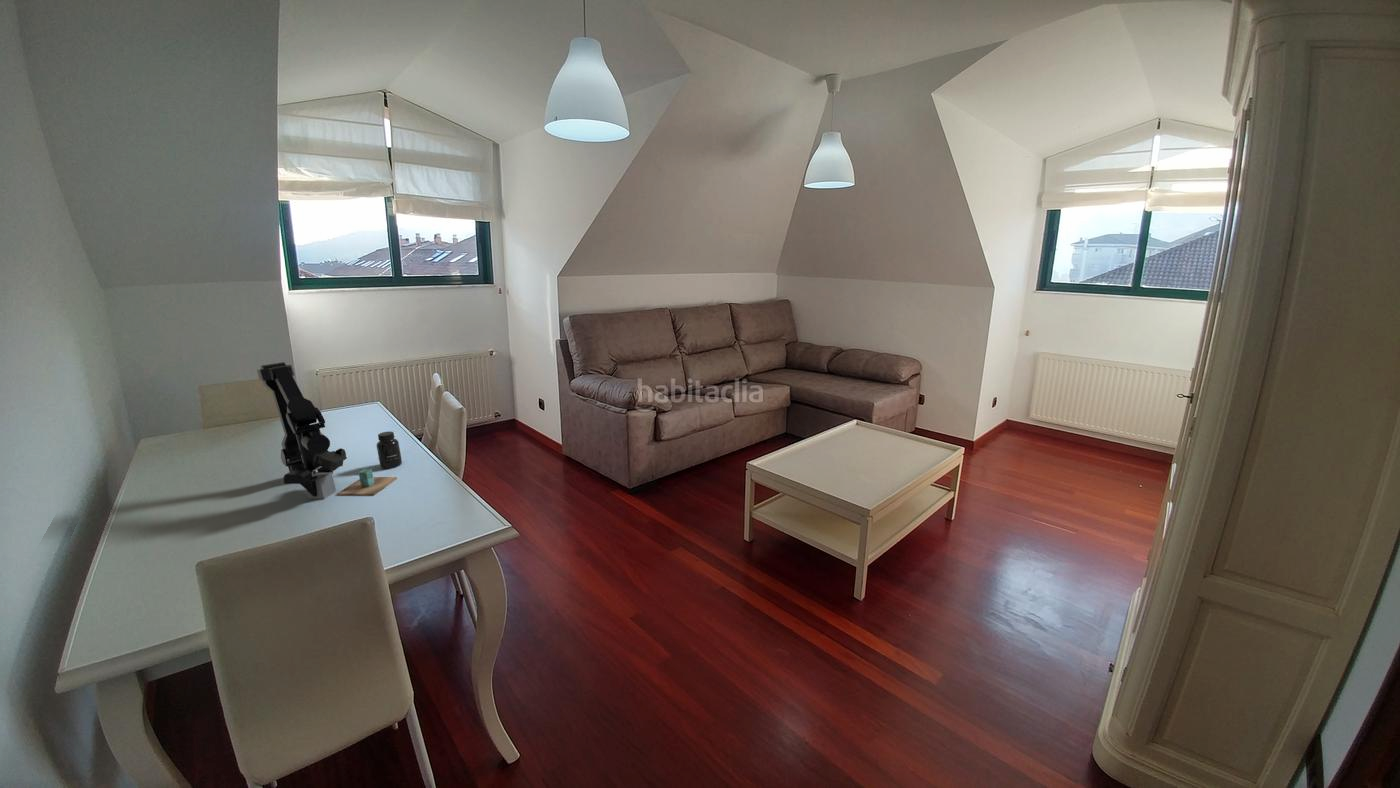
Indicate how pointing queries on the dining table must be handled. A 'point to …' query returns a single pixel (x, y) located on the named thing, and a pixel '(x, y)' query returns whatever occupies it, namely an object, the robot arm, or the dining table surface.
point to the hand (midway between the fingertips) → (321, 492)
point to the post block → (367, 484)
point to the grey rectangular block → (323, 485)
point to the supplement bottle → (388, 450)
